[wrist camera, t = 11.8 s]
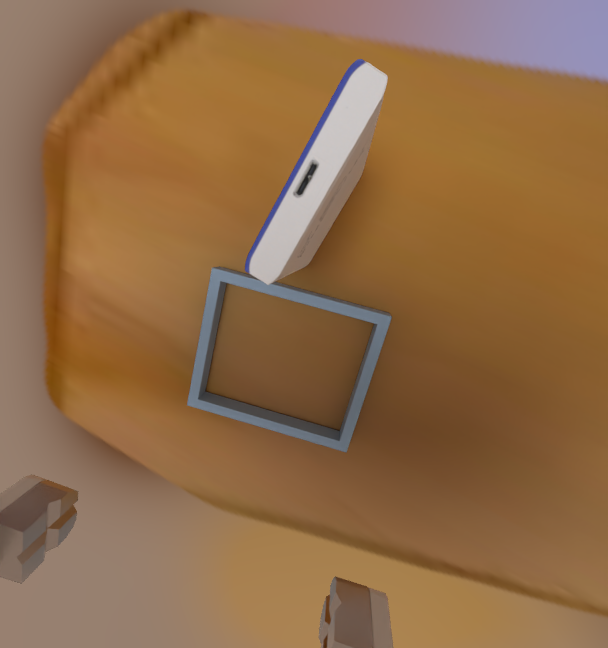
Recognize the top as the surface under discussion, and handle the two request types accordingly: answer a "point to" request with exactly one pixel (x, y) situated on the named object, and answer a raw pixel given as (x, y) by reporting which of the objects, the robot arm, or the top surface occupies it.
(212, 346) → the frame
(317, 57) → the top surface
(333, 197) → the hard drive
